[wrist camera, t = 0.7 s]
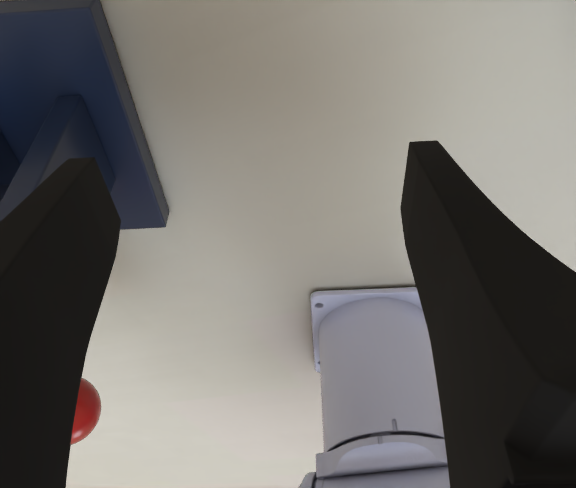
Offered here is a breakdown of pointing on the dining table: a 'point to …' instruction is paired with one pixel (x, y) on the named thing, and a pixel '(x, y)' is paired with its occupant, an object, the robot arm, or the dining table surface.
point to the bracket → (70, 107)
